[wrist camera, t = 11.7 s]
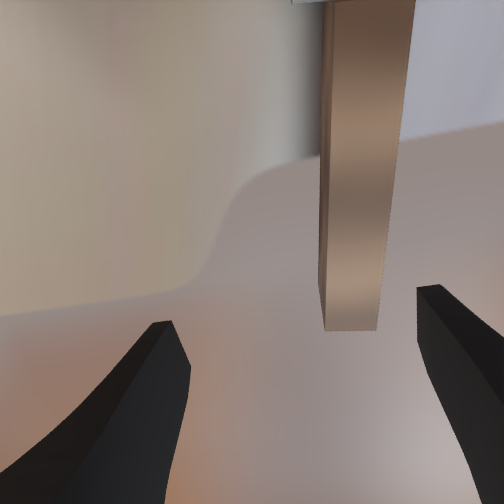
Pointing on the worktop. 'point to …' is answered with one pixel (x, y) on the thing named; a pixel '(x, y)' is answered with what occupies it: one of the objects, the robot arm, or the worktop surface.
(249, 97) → the worktop surface
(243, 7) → the worktop surface
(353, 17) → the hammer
